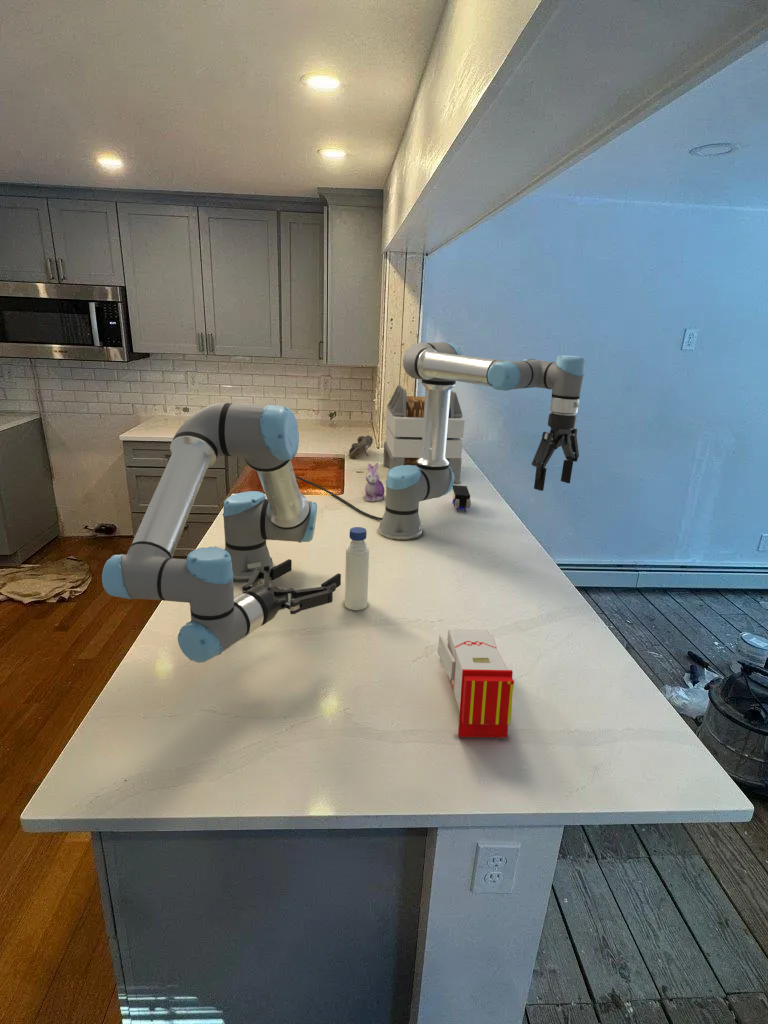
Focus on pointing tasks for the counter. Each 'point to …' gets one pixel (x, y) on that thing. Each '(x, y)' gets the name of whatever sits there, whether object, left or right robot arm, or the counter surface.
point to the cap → (358, 533)
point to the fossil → (360, 446)
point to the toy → (478, 682)
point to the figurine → (373, 485)
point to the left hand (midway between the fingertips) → (314, 571)
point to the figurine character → (461, 497)
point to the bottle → (356, 575)
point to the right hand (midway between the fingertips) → (552, 485)
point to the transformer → (419, 431)
